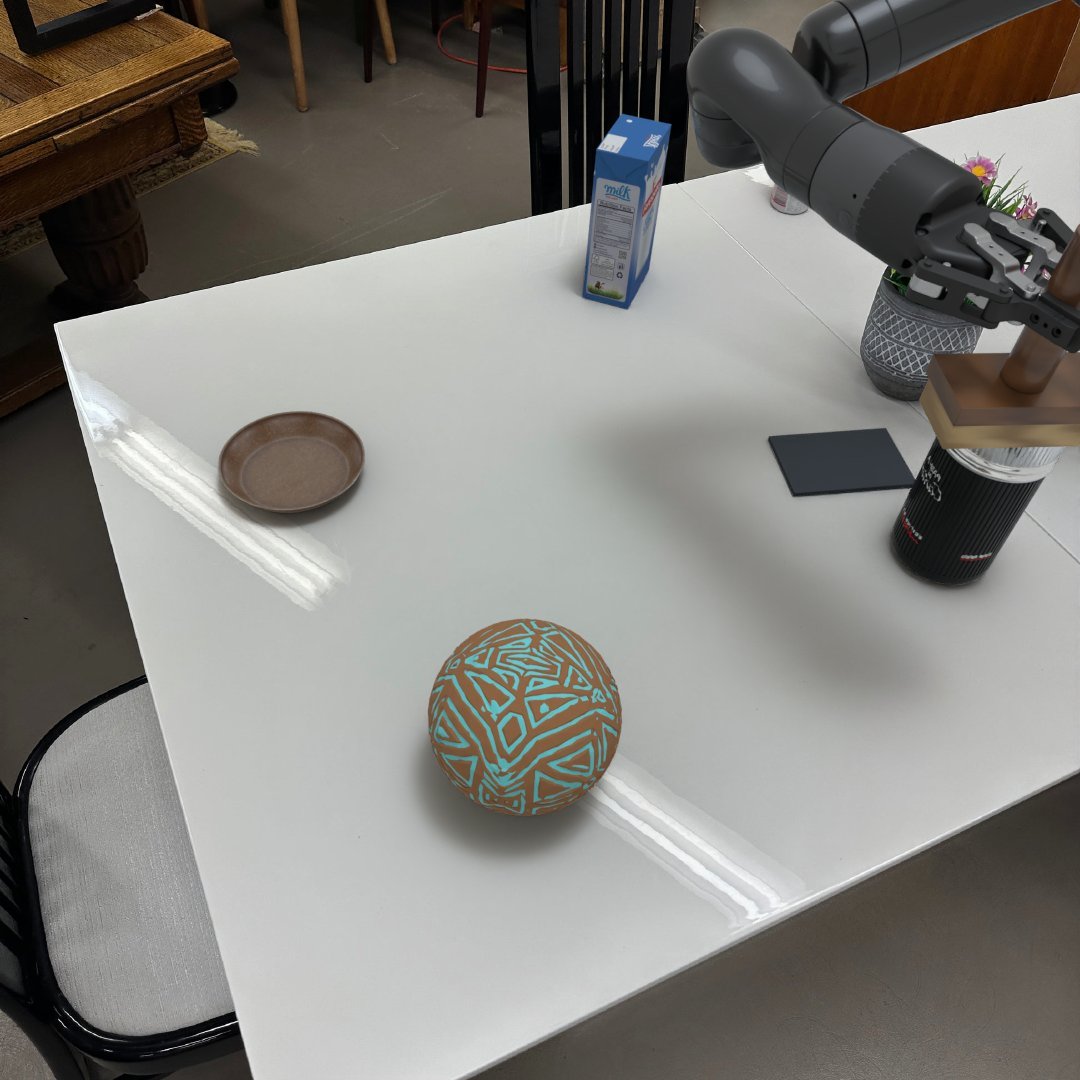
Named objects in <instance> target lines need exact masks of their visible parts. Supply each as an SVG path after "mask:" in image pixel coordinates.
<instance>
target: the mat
mask: <svg viewBox="0 0 1080 1080" xmlns="http://www.w3.org/2000/svg"><path fill="white" fill-rule="evenodd" d="M767 441H768V443H769V445H770V448H771V450H772V452H773V454H774V457H775V459H776V461H777V464H778V466H779V468H780V470H781V472H782V474H783V477H784V479H785V481H786V483H787V486H788V488H789V491H790V493H791V495H792V497H794V498H795V497H808V496H821V495H832V494H845V493H846V494H847V493H857V492H858V493H860V492H871V491H884V490H885V491H886V490H897V489H898V490H899V489H909V488H910V489H911V488H912V486H913V483H914V481H915V479H916V477H915V476H914V474H913V473H912V471H911V470H910V467H909V465H908V464H907V462H906V461H905V459H904V457H903V455H902V453H901V452H900V450H899V448H898V446H897V445H896V443H895V441H894V439H893V438H892V436H891V434H890V432H889V431H888V429H887V428H886V427H881V428H879V427H878V428H867V429H866V428H865V429H864V428H863V429H852V430H851V429H850V430H836V431H822V432H808V433H807V432H805V433H793V434H792V433H791V434H777V435H768V438H767Z"/></svg>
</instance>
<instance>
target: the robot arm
mask: <svg viewBox="0 0 1080 1080" xmlns="http://www.w3.org/2000/svg"><path fill="white" fill-rule="evenodd" d="M1060 1H1061V0H832V1H830V2H828V3H826V4H824V5H821V6H820V7H818V8H816V9H815V10H813V11H811V12H810V13H808V14H807V15H806V16H805V17H804V18H803V19H802V20H801V22H800V23H799V25H798V27H797V30H796V34H795V36H794V37H795V38H794V42H793V46H792V51H790V50H789V49H788V48H787V47H786V46H784V45H783V44H782V43H781V42H779V40H777V39H776V38H774V37H773V36H771V35H769V34H767V33H765V32H764V31H761V30H759V29H756V28H751V27H747V26H729V27H722V28H720V29H717V30H714V31H712V32H711V33H708V35H706V36H704V37H703V38H702V39H701V40H700V41H699V42H698V43H697V44H696V46H695V47H694V48H693V50H692V52H691V53H690V56H689V58H688V62H687V66H686V74H685V75H686V77H685V79H686V81H685V82H686V90H687V94H688V101H689V105H690V111H691V118H692V123H693V129H694V135H695V139H696V144H697V147H698V150H699V153H700V155H701V156H702V158H703V159H704V160H705V161H706V162H707V163H708V164H709V165H711V166H713V167H716V168H718V169H722V170H729V171H735V170H745V169H749V168H753V167H756V166H758V165H761V164H763V167H764V170H765V172H766V174H767V176H768V177H769V179H770V181H772V182H773V183H774V184H776V185H777V186H778V187H779V188H780V189H782V190H783V191H784V192H786V193H787V194H789V195H791V196H792V197H794V198H795V199H797V200H798V201H800V202H801V203H803V204H804V205H806V206H807V207H809V208H808V209H810V210H811V211H813V212H815V213H816V214H817V215H818V216H819V217H820V218H822V219H823V220H824V221H825V222H826V223H827V224H828V225H829V226H830V227H831V228H832V229H833V230H835V231H836V232H838V233H839V234H841V235H842V236H844V237H845V238H846V239H847V240H850V241H851V242H852V243H854V244H855V245H857V246H858V247H860V248H861V249H863V250H864V251H866V252H867V253H869V254H870V255H872V256H873V257H875V258H876V259H878V261H879V260H880V262H882V263H884V264H885V265H887V266H888V267H890V269H893V270H894V271H895V272H897V273H899V274H900V275H902V276H904V277H906V278H911V280H910V282H909V283H908V287H907V289H906V292H905V293H904V294H905V299H907V300H908V301H910V302H913V303H915V304H918V305H921V306H922V307H923V306H924V307H926V308H928V309H932V310H934V311H937V312H940V313H942V314H945V315H948V316H951V317H954V318H955V319H958V320H962V321H964V322H967V323H969V324H972V325H976V326H978V327H981V328H983V329H987V330H996V329H997V328H998V327H999V325H1000V323H1004V322H1005V323H1008V324H1010V325H1011V326H1015V327H1017V326H1018V327H1020V326H1025V325H1026V326H1027V327H1029V328H1030V329H1032V330H1034V331H1035V332H1037V333H1038V334H1040V335H1041V336H1043V337H1044V338H1046V339H1049V341H1050V342H1052V343H1054V344H1055V345H1057V346H1060V347H1061V348H1063V349H1065V350H1066V351H1067V352H1069V353H1076V352H1080V311H1079V310H1077V309H1076V308H1074V307H1072V306H1071V305H1069V304H1068V303H1066V302H1064V301H1063V300H1061V299H1059V298H1057V297H1056V296H1054V295H1053V294H1051V293H1050V292H1048V291H1047V292H1045V293H1043V294H1042V292H1043V290H1044V288H1045V286H1046V284H1047V283H1048V281H1049V279H1048V278H1047V277H1044V275H1043V272H1044V270H1045V271H1046V272H1047V273H1048V275H1049V276H1051V275H1052V273H1053V271H1054V269H1055V267H1056V266H1057V264H1058V262H1059V260H1060V258H1061V256H1062V254H1063V252H1064V250H1065V249H1066V247H1067V245H1068V243H1069V241H1070V239H1071V237H1072V235H1073V233H1074V232H1075V231H1074V230H1072V228H1071V227H1070V226H1069V225H1067V223H1066V222H1065V221H1064V220H1063V219H1062V218H1061V217H1060V216H1059V215H1058V214H1057V213H1056V212H1055V211H1054V210H1053V209H1050V208H1048V207H1040V208H1038V209H1037V210H1036V212H1035V214H1034V216H1033V218H1027V219H1017V218H1016V217H1015V216H1014V215H1013V214H1011V213H1009V212H1006V211H1003V210H1000V209H996V208H994V207H991V206H989V205H988V204H987V203H986V201H985V197H984V189H983V184H982V182H981V180H980V178H979V177H978V176H977V175H976V174H975V173H973V172H971V171H969V170H968V169H966V168H964V167H962V166H960V165H959V164H957V163H956V162H955V161H954V162H953V161H952V160H950V159H949V158H946V157H945V156H943V155H942V154H940V153H938V152H936V151H934V150H932V149H931V148H929V147H927V146H925V145H924V144H922V143H921V142H919V141H917V140H915V139H914V138H911V137H910V136H908V135H906V134H904V133H902V132H900V131H898V130H896V129H893V128H891V127H887V126H885V125H882V124H880V123H877V122H875V121H873V120H872V119H871V118H868V117H867V116H865V115H863V114H861V113H860V112H858V111H856V110H854V109H853V108H852V107H849V106H847V105H845V104H843V103H842V102H844V101H846V100H847V99H849V98H852V97H854V96H856V95H859V94H860V93H863V92H866V91H868V89H869V90H870V89H871V88H873V87H875V86H878V85H879V84H881V83H884V82H885V81H888V80H891V79H892V78H894V77H896V76H898V75H900V74H902V73H905V72H906V71H908V70H911V69H912V68H915V67H917V66H919V65H920V64H923V63H924V62H926V61H929V60H930V59H933V58H934V57H936V56H938V55H941V54H943V53H945V52H947V51H949V50H950V49H952V48H955V47H957V46H959V45H961V44H963V43H965V42H967V41H969V40H971V39H973V38H975V37H977V36H979V35H982V34H984V33H986V32H988V31H990V30H992V29H994V28H996V27H998V26H1001V25H1003V24H1006V23H1007V22H1009V21H1012V20H1014V19H1016V18H1019V17H1022V16H1024V15H1026V14H1029V13H1031V12H1034V11H1037V10H1039V9H1041V8H1044V7H1047V6H1049V5H1052V4H1055V3H1057V2H1060ZM1071 2H1073V3H1074V4H1075V5H1076V6H1077V7H1079V8H1080V0H1071ZM1030 255H1031V258H1030V261H1029V263H1028V265H1027V267H1026V269H1025V271H1024V273H1023V271H1022V270H1023V268H1024V266H1025V264H1026V263H1027V260H1028V258H1029V256H1030ZM966 298H967V299H968V300H970V301H971V302H972V303H973V304H970V303H968V302H967V301H966ZM975 305H976V306H975Z"/></svg>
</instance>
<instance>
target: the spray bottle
mask: <svg viewBox="0 0 1080 1080" xmlns="http://www.w3.org/2000/svg"><path fill="white" fill-rule="evenodd" d="M1064 449H1065V447H1021V448H972V449H942V447H941V445H940V443H939V440H938V438H937V436H936V435H935V437H934V439H933V442H932V444H931V446H930V448H929V450H928V452H927V454H926V457H925V459H924V461H923V463H922V465H921V467H920V468H919V471H918V473H917V475H916V477H915V481H914V483H913V486H912V488H910V490H909V492H908V494H907V496H906V498H905V501H904V503H903V505H902V506H901V508H900V511H899V512H898V515H897V517H896V519H895V521H894V524H893V526H892V530H891V535H890V536H891V543H892V547H893V550H894V552H895V554H896V556H897V557H898V559H899V560H900V562H902V564H903V565H904V566H905V567H907V568H908V569H909V570H910V571H911V572H913V573H914V574H916V575H918V576H920V577H921V578H923V579H925V580H928V581H930V582H934V583H937V584H941V585H949V586H959V585H960V586H961V585H965V584H969V583H972V582H975V581H977V580H978V579H980V578H981V577H983V576H984V575H985V574H986V573H987V572H988V571H989V569H990V568H991V566H992V564H993V563H994V561H995V560H996V558H997V557H998V555H999V553H1000V552H1001V550H1002V548H1003V546H1004V545H1005V543H1007V540H1008V538H1009V537H1010V535H1011V533H1012V532H1013V530H1014V529H1015V527H1016V525H1017V524H1018V522H1019V521H1020V519H1021V518H1022V516H1023V515H1024V512H1025V511H1026V509H1027V507H1028V506H1029V504H1030V503H1031V501H1032V500H1033V498H1034V496H1035V495H1036V493H1037V491H1038V490H1039V488H1040V487H1041V485H1042V483H1043V482H1044V480H1045V479H1046V477H1047V476H1049V474H1050V473H1051V472H1052V471H1053V470H1054V468H1055V467H1056V464H1057V461H1059V458H1060V456H1061V454H1062V452H1063V450H1064Z"/></svg>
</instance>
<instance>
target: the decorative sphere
mask: <svg viewBox="0 0 1080 1080" xmlns="http://www.w3.org/2000/svg"><path fill="white" fill-rule="evenodd" d="M431 688H432V689H431V692H430V695H429V698H428V706H427V707H428V708H427V728H428V734H429V739H430V743H431V746H432V752H433V754H434V756H435V757H436V760H437V763H438V764H439V766H440V768H441V769H442V771H443V773H444V774H445V776H446V777H447V778H448V780H449V781H450V782H451V783H452V784H453V785H454V787H455V788H456V789H457V790H458V791H459V792H461V793H462V795H464V796H465V797H467V798H468V799H469V800H472V801H473V802H474V803H476V804H477V805H480V806H481V807H483V808H486V809H488V810H491V811H493V812H495V813H500V814H503V815H508V816H513V817H514V816H515V817H518V816H519V817H520V816H521V817H525V816H526V817H527V816H529V817H531V816H539V815H545V814H546V815H547V814H551V813H553V812H556V811H557V812H558V811H559V810H561V809H565V808H566V807H569V806H570V805H572V804H574V803H575V802H576V801H578V800H580V799H581V798H583V797H585V796H586V793H587V792H588V791H589V792H590V791H591V790H592V789H593V788H594V787H595V785H596V784H598V783H599V781H601V779H602V777H603V776H604V775H605V774H606V772H607V770H608V768H609V767H610V766H611V764H612V761H613V759H614V757H615V755H616V753H617V749H618V746H619V743H620V739H621V734H622V725H623V709H622V702H621V697H620V692H619V687H618V685H617V684H616V679H615V678H614V676H613V675H612V672H611V669H610V667H609V665H608V664H607V662H606V661H605V659H604V658H603V656H602V654H601V653H599V651H598V650H597V649H596V648H595V647H594V646H593V645H592V644H591V643H589V642H588V641H587V640H585V639H584V638H583V637H582V636H581V635H580V634H578V633H576V632H575V631H574V630H571V629H568V628H566V627H565V626H563V625H559V624H557V623H554V622H551V621H547V620H542V619H537V618H535V619H531V618H515V619H507V620H503V621H498V622H496V623H493V624H490V625H488V626H486V627H484V628H481V629H480V630H478V631H476V632H474V633H472V634H470V635H469V636H468V638H466V639H464V640H463V641H462V642H461V643H460V644H459V645H458V646H457V647H455V649H454V651H453V652H452V654H450V656H449V657H448V658H447V659H445V661H444V662H443V664H442V666H441V669H440V670H439V672H438V673H437V675H436V678H435V680H434V682H433V685H432V687H431Z"/></svg>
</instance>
